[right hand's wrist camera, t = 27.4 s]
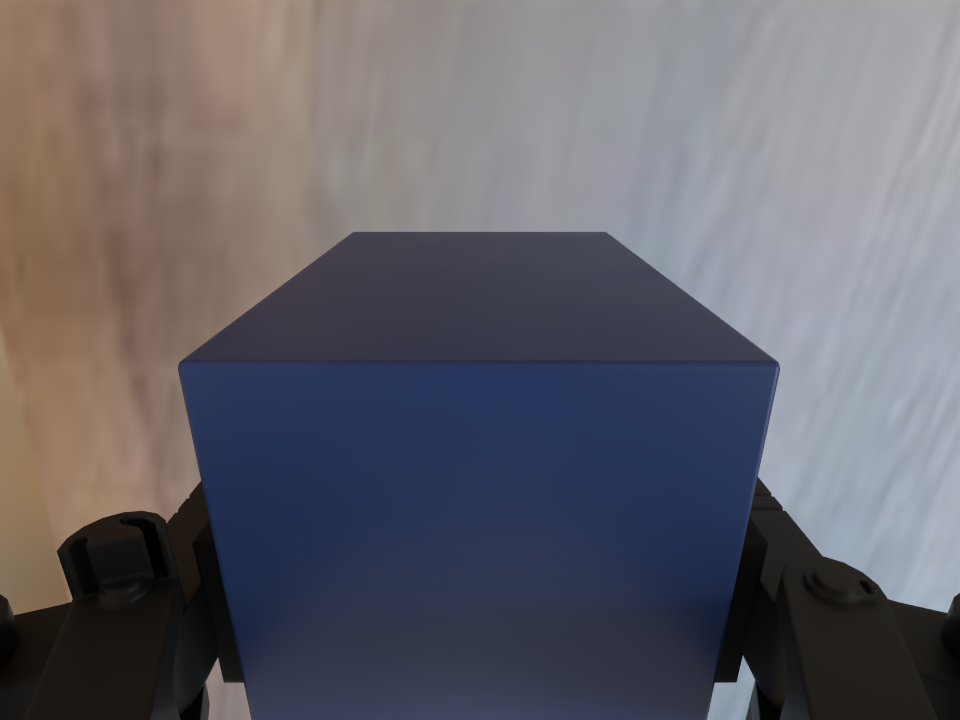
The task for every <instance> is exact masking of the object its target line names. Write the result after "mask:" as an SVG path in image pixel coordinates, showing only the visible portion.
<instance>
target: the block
mask: <svg viewBox="0 0 960 720" xmlns="http://www.w3.org/2000/svg"><path fill="white" fill-rule="evenodd" d="M178 372H179V376H180V381H181V386H182V391H183V395H184V400H185V405H186V410H187V414H188V419H189V424H190V429H191V433H192V438H193V443H194V448H195V452H196V457H197V462H198V467H199V471H200V476H201V481H202V486H203V490H204V495H205V500H206V505H207V509H208V514H209V519H210V524H211V529H212V533H213V538H214V543H215V548H216V552H217V557H218V562H219V567H220V571H221V576H222V581H223V586H224V590H225V595H226V600H227V605H228V609H229V614H230V619H231V624H232V628H233V633H234V638H235V643H236V647H237V652H238V657H239V662H240V666H241V671H242V676H243V681H244V685H245V690H246V695H247V700H248V705H249V709H250V714H251V719H252V720H707V716H708V711H709V707H710V702H711V697H712V692H713V688H714V683H715V678H716V673H717V668H718V664H719V659H720V654H721V649H722V644H723V640H724V635H725V630H726V625H727V620H728V616H729V611H730V606H731V601H732V597H733V592H734V587H735V582H736V577H737V573H738V568H739V563H740V558H741V553H742V549H743V544H744V539H745V534H746V530H747V525H748V520H749V515H750V510H751V506H752V501H753V496H754V491H755V486H756V482H757V477H758V472H759V467H760V463H761V458H762V453H763V448H764V443H765V439H766V434H767V429H768V424H769V419H770V415H771V410H772V405H773V400H774V396H775V391H776V386H777V381H778V376H779V372H780V366H779V363H778V362H777V361H776V360H775V359H773V358H772V357H771V356H769V355H768V354H767V353H765V352H764V351H763V350H761V349H760V348H759V347H758V346H756V345H755V344H754V343H752V342H751V341H750V340H748V339H747V338H746V337H744V336H743V335H742V334H740V333H739V332H738V331H736V330H735V329H734V328H732V327H731V326H730V325H728V324H727V323H726V322H724V321H723V320H722V319H720V318H719V317H718V316H716V315H715V314H714V313H713V312H711V311H710V310H709V309H707V308H706V307H705V306H703V305H702V304H701V303H699V302H698V301H697V300H695V299H694V298H693V297H691V296H690V295H689V294H687V293H686V292H685V291H683V290H682V289H681V288H679V287H678V286H677V285H675V284H674V283H673V282H671V281H670V280H669V279H667V278H666V277H665V276H664V275H662V274H661V273H660V272H658V271H657V270H656V269H654V268H653V267H652V266H650V265H649V264H648V263H646V262H645V261H644V260H642V259H641V258H640V257H638V256H637V255H636V254H634V253H633V252H632V251H630V250H629V249H628V248H626V247H625V246H624V245H622V244H621V243H620V242H619V241H617V240H616V239H615V238H613V237H612V236H611V235H609V234H608V233H606V232H353V233H351V234H350V235H349V236H347V237H346V238H345V239H343V240H342V241H341V242H339V243H338V244H337V245H335V246H334V247H333V248H331V249H330V250H329V251H327V252H326V253H325V254H323V255H322V256H321V257H319V258H318V259H317V260H315V261H314V262H313V263H311V264H310V265H309V266H307V267H306V268H305V269H303V270H302V271H301V272H299V273H298V274H297V275H295V276H294V277H293V278H291V279H290V280H289V281H287V282H286V283H285V284H283V285H282V286H281V287H279V288H278V289H277V290H275V291H274V292H273V293H271V294H270V295H269V296H267V297H266V298H265V299H263V300H262V301H261V302H259V303H258V304H257V305H255V306H254V307H253V308H251V309H250V310H249V311H247V312H246V313H245V314H243V315H242V316H241V317H239V318H238V319H237V320H235V321H234V322H233V323H231V324H230V325H229V326H227V327H226V328H225V329H223V330H222V331H221V332H219V333H218V334H217V335H215V336H214V337H213V338H211V339H210V340H209V341H207V342H206V343H205V344H203V345H202V346H200V347H199V348H198V349H196V350H195V351H194V352H192V353H191V354H190V355H188V356H187V357H186V358H184V359H183V360H182V361H180V363H179V366H178Z"/></svg>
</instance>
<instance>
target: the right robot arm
mask: <svg viewBox="0 0 960 720" xmlns="http://www.w3.org/2000/svg"><path fill="white" fill-rule="evenodd" d="M57 553H58V556H59V559H60V562H61V565H62V568H63V571H64V574H65V577H66V580H67V583H68V586H69V589H70V592H71V595H72V598H73V600H72V602H70V603H66V604H63V605H58V606H54V607H49V608H45V609H40V610H36V611H32V612H27V613H23V614H18V615H13V612H12V610H11V607H10V605H9V602H8V600H7V599H6V598H5V597H3V596H2V595H0V720H208V715H209V705H210V704H209V697H208V691H207V687H206V683H205V682H206V680H207V678H208V676H209V674H210V672H211V670H212V668H213V666H214V664H215V662H216V660H217V658H219V663H220V667H221V672H222V676H223V680H224V682H244V681H243V676H242V671H241V666H240V662H239V657H238V652H237V647H236V643H235V638H234V633H233V628H232V624H231V619H230V614H229V609H228V605H227V600H226V595H225V590H224V586H223V581H222V576H221V571H220V567H219V562H218V557H217V552H216V548H215V543H214V538H213V533H212V529H211V524H210V519H209V514H208V509H207V505H206V500H205V495H204V490H203V486H202V481H201V482H200V483H199V484H198V485H197V487H196V488H195V489H194V490H193V492H192V493H191V494H190V497H189V499H186V500H185V502H184V503H183V504H182V505H181V506H180V508H179V509H178V513H175V514H174V515H173V516H172V518H171V519H170V520H169V521H168V523H167V524H166V520H165V519H163V518H162V517H161V516H159V515H158V514H157V513H151V512H146V511H135V512H123V513H120V514H116V515H112V516H109V517H105V518H102V519H100V520H98V521H95V522H93V523H91V524H89V525H87V526H84V527H83V528H81V529H80V530H78V531H77V532H76V533H74V534H73V535H71V536H70V537H68V538H67V539H66V540H65V542H64V543H63V544H62V545H61V547H60V548H59V549H58V550H57ZM742 656H744V658H745V660H746V662H747V664H748V666H749V668H750V670H751V672H752V674H753V676H754V678H755V683H754V687H753V691H752V695H751V699H750V703H749V707H748V712H747V716H746V720H960V593H959V594H958V595H956V596H955V597H954V599H953V601H952V604H951V606H950V609H949V611H948V613H944V612H940V611H935V610H931V609H926V608H922V607H917V606H913V605H908V604H904V603H899V602H896V601H892V600H889V599H887V597H886V596H885V594H884V593H883V592H882V590H881V589H880V587H879V586H878V585H877V584H876V583H875V582H874V581H872V580H871V579H870V578H869V577H867V576H866V575H865V574H864V573H863V572H861V571H859V570H857V569H855V568H853V567H851V566H849V565H847V564H845V563H843V562H840V561H837V560H833V559H830V558H827V557H823V556H822V555H821V554H820V553H819V551H818V550H817V549H816V548H815V546H814V545H813V544H812V543H811V542H810V540H809V539H808V538H807V537H806V535H805V534H804V533H803V532H802V530H801V529H800V528H799V527H798V526H797V524H796V523H795V522H794V521H793V519H792V518H791V517H790V516H789V515H788V513H787V512H786V511H783V507H782V506H781V505H780V503H779V502H778V501H777V500H776V499H775V497H772V496H771V492H770V491H769V490H768V489H767V487H766V486H765V485H764V484H763V483H762V481H761V480H760V479H759V478H758V477H757V482H756V486H755V491H754V496H753V501H752V506H751V510H750V515H749V520H748V525H747V530H746V534H745V539H744V544H743V549H742V553H741V558H740V563H739V568H738V573H737V577H736V582H735V587H734V592H733V597H732V601H731V606H730V611H729V616H728V620H727V625H726V630H725V635H724V640H723V644H722V649H721V654H720V659H719V664H718V668H717V673H716V678H715V682H737V678H738V673H739V669H740V665H741V660H742Z"/></svg>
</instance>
